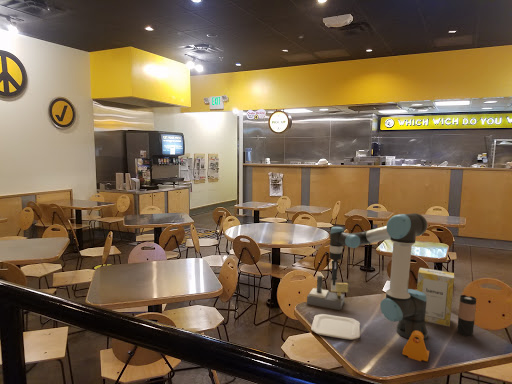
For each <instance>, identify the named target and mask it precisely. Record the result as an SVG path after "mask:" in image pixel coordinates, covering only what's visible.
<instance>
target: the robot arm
mask: <svg viewBox="0 0 512 384" xmlns="http://www.w3.org/2000/svg"><path fill="white" fill-rule="evenodd" d="M427 229H428V221H427V219H426V218H425V216H423V215H422V214H420V213H416V212H415V213H400V214H399V213H397V214H395V215H393V216H391V217H390V218H389V219H388V221H387V223H386V225H384V226H381V227H377V228H373V229H370V230H365V231H361V232H346V231H345V232H344V227H341V226H333V227H331V228H330V232H329V233H330V237H329V239H330V240H329V241H330V242H329V253H328V254H329V255H328V257H329V259H330V260H331V269H332V270H331V271H332V273H331V278H330V280H331V282H332V285H331V284H330V291H331V290H336V283H337V280H338V277H337V274H338V269H339V264H340V263H339V261H340V260H342V259H343V258H342V257H343V250H344V246H346V247H348V248H352V249H356V248H358V247H359V246H364V245H370V244H375V243H378V242H381V241H386V240H390V241H391V243H392V254H391V267H390V268H391V269H390V277H389V278H390V280H389V289H387V290H386V291H385V297H384V298H383V299H382V300H381V302H380V304H379V305H380V311H381V314H382V315H383V317H384V318H385V319H386V320H388V321H390V322H397V325H396V333H397V334H398V335H400V336H401V337H403V338H406V339H408V340H409V338H410V336H411V334H412V332H413V331H420V332H421V333H422V334H423V336H424V339H423V340H424V341H425V340H427V338H428V330H427V326H426V321H425V312H426V302H427V297H426V295H425V294H424V293H422V292H420V291H417V289H412V288H409V280H410V268H411V260H412V259H411V255H412V246H413V245H414V244H416V237H419V236H422V235H424V234H425V233H426V231H427ZM415 338H416V339H418V340H419V338H418V337H415Z"/></svg>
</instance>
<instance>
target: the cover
mask: <svg viewBox="0 0 512 384" xmlns="http://www.w3.org/2000/svg"><path fill="white" fill-rule="evenodd" d="M316 277H317V278H316V287H313V288H312V289H311V290H310V291H311V292H310V291H309V293H308V294H309V296H314V297H320V298H326V296H327V294H328V292H330V291H329V290H328V289H323V277H324V276H322V275H317V276H316Z"/></svg>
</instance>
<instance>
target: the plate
mask: <svg viewBox="0 0 512 384" xmlns="http://www.w3.org/2000/svg"><path fill="white" fill-rule="evenodd" d="M310 329H311V331H312V332H314V333H316V334H317V335H320V336H324V337H325V336H326V337H331V338H336V339H342V340H356V339H359V338H361V323H360V321H358V320H357V319H354V318H352V317H345V316H339V315H333V314H325V313H319V314H315V315H314V317H313V321H312V323H311V328H310Z"/></svg>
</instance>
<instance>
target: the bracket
mask: <svg viewBox="0 0 512 384" xmlns="http://www.w3.org/2000/svg"><path fill="white" fill-rule="evenodd" d="M415 337H418V338H419V340H418V339H416V338H415ZM423 339H424V336H423V334H422V333H421V332H420V331H413V332H412V334H411V336H410V338H409V339H408V340H407V342H405V344H404V346H403V348H402V355H403V356H407V357H408V359H411V360H416V361H418V362H422V361H424V362H429V357H430V350H427V346H426V344H425V339H424V340H423Z"/></svg>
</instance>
